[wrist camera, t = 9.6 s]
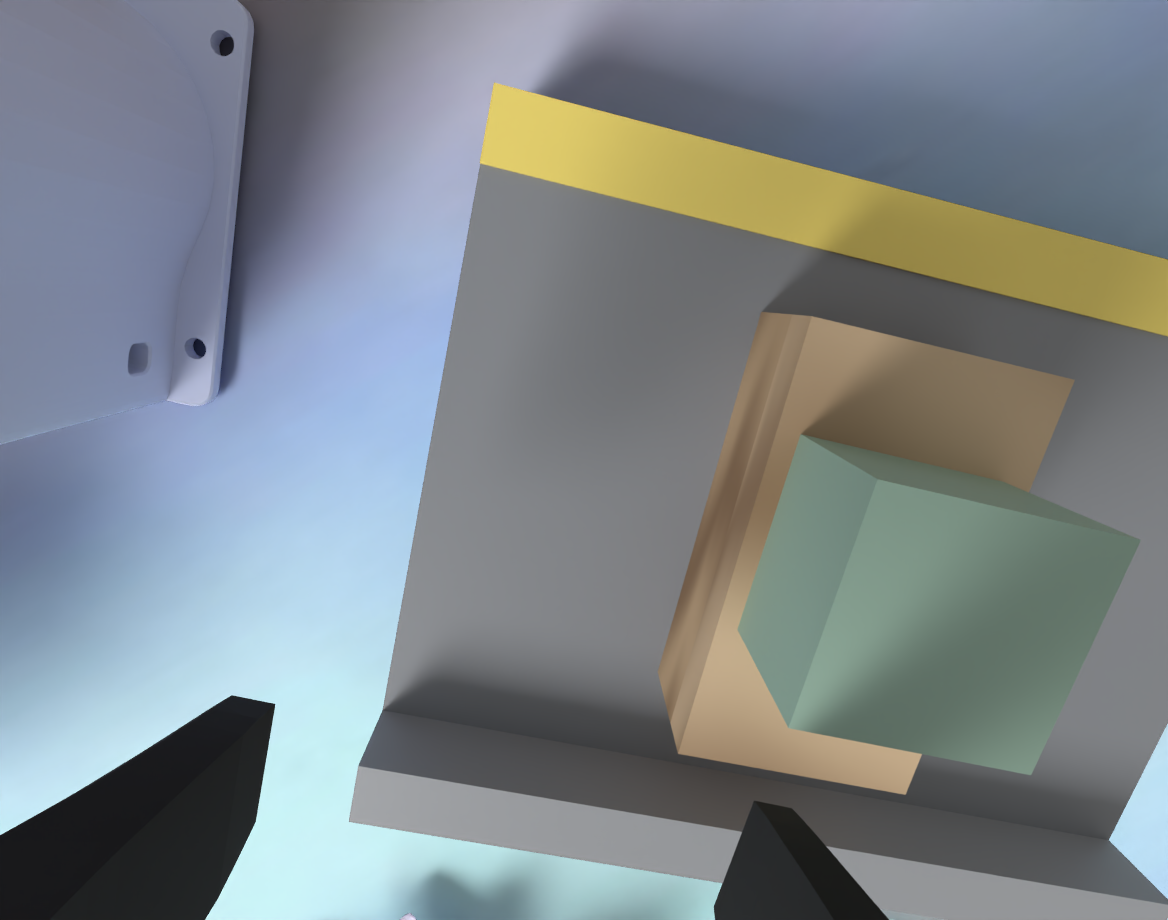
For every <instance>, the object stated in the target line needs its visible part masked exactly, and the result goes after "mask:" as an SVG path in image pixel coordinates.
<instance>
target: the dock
mask: <svg viewBox="0 0 1168 920" xmlns="http://www.w3.org/2000/svg"><path fill="white" fill-rule="evenodd" d="M761 312H769V313H781V314H792V315H804V316H813V317H817V318H822V319H826V320H830V321H834V322H838V323H842V324H846V325H851V326H855V327H859V328H863V329H867V330H871V331H875V332H879V333H884V334H888V335H892V336H896V337H900V338H904V339H908V340H912V341H917V342H921V343H925V344H929V345H933V346H937V347H941V348H945V349H950V350H954V351H958V352H962V353H966V354H970V355H974V356H978V357H983V358H987V359H991V360H995V361H999V362H1003V363H1007V364H1012V365H1016V366H1020V367H1024V368H1028V369H1032V370H1036V371H1040V372H1045V373H1049V374H1053V375H1057V376H1061V377H1065V378H1069V379H1073V380H1075V381H1074V383H1073V386H1072V388H1071V391H1070V393H1069V396H1068V398H1067V401H1066V403H1065V405H1064V408H1063V410H1062V413H1061V415H1060V418H1059V420H1058V423H1057V425H1056V427H1055V430H1054V432H1053V435H1052V437H1051V440H1050V442H1049V445H1048V447H1047V449H1046V452H1045V454H1044V457H1043V459H1042V462H1041V464H1040V467H1039V469H1038V472H1037V474H1036V476H1035V479H1034V481H1033V484H1032V486H1031V489H1030V491H1029V493H1031V494H1033V495H1036V496H1038V497H1041V498H1043V499H1045V500H1048V501H1050V502H1052V503H1055V504H1057V505H1059V506H1062V507H1064V508H1066V509H1069V510H1071V511H1073V512H1076V513H1078V514H1081V515H1083V516H1085V517H1088V518H1090V519H1092V520H1095V521H1097V522H1099V523H1102V524H1104V525H1106V526H1109V527H1111V528H1114V529H1116V530H1118V531H1121V532H1123V533H1125V534H1128V535H1130V536H1132V537H1135V538H1137V539H1139V540H1141V541H1140V544H1139V546H1138V548H1137V550H1136V552H1135V554H1134V556H1133V559H1132V561H1131V563H1130V565H1129V567H1128V569H1127V571H1126V573H1125V576H1124V578H1123V580H1122V582H1121V584H1120V586H1119V588H1118V591H1117V593H1116V595H1115V597H1114V599H1113V601H1112V603H1111V606H1110V608H1109V610H1108V612H1107V614H1106V616H1105V618H1104V620H1103V623H1102V625H1101V627H1100V629H1099V631H1098V633H1097V635H1096V638H1095V640H1094V642H1093V644H1092V646H1091V648H1090V650H1089V653H1088V655H1087V657H1086V659H1085V661H1084V663H1083V665H1082V667H1081V670H1080V672H1079V674H1078V676H1077V678H1076V680H1075V682H1074V685H1073V687H1072V689H1071V691H1070V693H1069V695H1068V697H1067V700H1066V702H1065V704H1064V706H1063V708H1062V710H1061V712H1060V714H1059V717H1058V719H1057V721H1056V723H1055V725H1054V727H1053V729H1052V732H1051V734H1050V736H1049V738H1048V740H1047V742H1046V744H1045V747H1044V749H1043V751H1042V753H1041V755H1040V757H1039V759H1038V761H1037V764H1036V766H1035V768H1034V770H1033V772H1032V774H1031V775H1027V774H1022V773H1017V772H1011V771H1006V770H1001V769H996V768H991V767H986V766H981V765H975V764H970V763H965V762H960V761H955V760H950V759H945V758H939V757H934V756H929V755H924V754H922V756H921V758H920V760H919V763H918V765H917V768H916V770H915V773H914V775H913V778H912V780H911V782H910V785H909V787H908V790H907V792H906V795H904V794H898V793H893V792H887V791H882V790H876V789H871V788H865V787H860V786H854V785H848V784H843V783H837V782H832V781H826V780H821V779H815V778H810V777H804V776H799V775H793V774H787V773H782V772H776V771H771V770H765V769H760V768H754V767H749V766H743V765H738V764H732V763H726V762H721V761H715V760H710V759H704V758H699V757H693V756H688V755H682V754H678V752H677V748H676V744H675V740H674V736H673V732H672V728H671V724H670V720H669V716H668V712H667V708H666V704H665V700H664V696H663V691H662V687H661V683H660V679H659V675H658V669H659V666H660V662H661V659H662V655H663V652H664V648H665V645H666V641H667V638H668V634H669V631H670V628H671V624H672V621H673V617H674V614H675V610H676V607H677V603H678V600H679V596H680V593H681V589H682V586H683V582H684V579H685V575H686V572H687V568H688V565H689V561H690V558H691V554H692V551H693V548H694V544H695V541H696V537H697V534H698V530H699V527H700V523H701V520H702V516H703V513H704V509H705V506H706V502H707V499H708V495H709V492H710V488H711V485H712V481H713V478H714V474H715V471H716V468H717V464H718V461H719V457H720V454H721V450H722V447H723V443H724V440H725V436H726V433H727V429H728V426H729V422H730V419H731V415H732V412H733V408H734V405H735V401H736V398H737V394H738V391H739V388H740V384H741V381H742V377H743V374H744V370H745V367H746V363H747V360H748V356H749V353H750V349H751V346H752V342H753V339H754V335H755V332H756V328H757V325H758V321H759V318H760V314H761ZM1167 723H1168V259H1164V258H1160V257H1156V256H1153V255H1149V254H1145V253H1141V252H1137V251H1134V250H1130V249H1126V248H1122V247H1118V246H1115V245H1111V244H1107V243H1103V242H1099V241H1095V240H1092V239H1088V238H1084V237H1080V236H1076V235H1073V234H1069V233H1065V232H1061V231H1057V230H1054V229H1050V228H1046V227H1042V226H1038V225H1034V224H1031V223H1027V222H1023V221H1019V220H1015V219H1012V218H1008V217H1004V216H1000V215H996V214H993V213H989V212H985V211H981V210H977V209H973V208H970V207H966V206H962V205H958V204H954V203H951V202H947V201H943V200H939V199H935V198H932V197H928V196H924V195H920V194H916V193H912V192H909V191H905V190H901V189H897V188H893V187H890V186H886V185H882V184H878V183H874V182H871V181H867V180H863V179H859V178H855V177H851V176H848V175H844V174H840V173H836V172H832V171H829V170H825V169H821V168H817V167H813V166H810V165H806V164H802V163H798V162H794V161H791V160H787V159H783V158H779V157H775V156H771V155H768V154H764V153H760V152H756V151H752V150H749V149H745V148H741V147H737V146H733V145H730V144H726V143H722V142H718V141H714V140H710V139H707V138H703V137H699V136H695V135H691V134H688V133H684V132H680V131H676V130H672V129H669V128H665V127H661V126H657V125H653V124H649V123H646V122H642V121H638V120H634V119H630V118H627V117H623V116H619V115H615V114H611V113H608V112H604V111H600V110H596V109H592V108H588V107H585V106H581V105H577V104H573V103H569V102H566V101H562V100H558V99H554V98H550V97H547V96H543V95H539V94H535V93H531V92H528V91H524V90H520V89H516V88H512V87H508V86H505V85H501V84H497V83H494V86H493V91H492V97H491V102H490V108H489V114H488V119H487V125H486V130H485V136H484V142H483V147H482V153H481V159H480V169H479V174H478V180H477V185H476V191H475V196H474V202H473V208H472V213H471V219H470V224H469V230H468V236H467V241H466V247H465V252H464V258H463V264H462V269H461V275H460V280H459V286H458V292H457V297H456V303H455V308H454V314H453V320H452V325H451V331H450V336H449V342H448V348H447V353H446V359H445V364H444V370H443V376H442V381H441V387H440V392H439V398H438V404H437V409H436V415H435V420H434V426H433V432H432V437H431V443H430V448H429V454H428V460H427V465H426V471H425V476H424V482H423V488H422V493H421V499H420V504H419V510H418V516H417V521H416V527H415V532H414V538H413V544H412V549H411V555H410V560H409V566H408V572H407V577H406V583H405V588H404V594H403V600H402V605H401V611H400V616H399V622H398V628H397V633H396V639H395V644H394V650H393V656H392V661H391V667H390V672H389V678H388V684H387V689H386V695H385V700H384V706H383V711H382V713H381V715H380V718H379V720H378V722H377V725H376V727H375V729H374V731H373V734H372V736H371V738H370V741H369V743H368V745H367V747H366V750H365V752H364V754H363V757H362V759H361V761H360V763H359V766H358V771H357V777H356V783H355V789H354V794H353V800H352V806H351V812H350V818H349V822H353V823H360V824H366V825H372V826H378V827H384V828H390V829H396V830H402V831H408V832H414V833H420V834H427V835H433V836H439V837H445V838H451V839H457V840H463V841H469V842H475V843H481V844H487V845H493V846H500V847H506V848H512V849H518V850H524V851H530V852H536V853H542V854H548V855H554V856H560V857H567V858H573V859H579V860H585V861H591V862H597V863H603V864H609V865H615V866H621V867H627V868H634V869H640V870H646V871H652V872H658V873H664V874H670V875H676V876H682V877H688V878H694V879H701V880H707V881H713V882H719V883H723V881H724V878H725V876H726V873H727V871H728V868H729V865H730V863H731V860H732V857H733V855H734V852H735V849H736V847H737V844H738V841H739V839H740V836H741V834H742V831H743V828H744V826H745V823H746V820H747V818H748V815H749V812H750V810H751V807H752V804H753V802H754V801H759V802H764V803H769V804H774V805H779V806H784V807H789V808H792V809H793V810H794V811H795V812H796V813H797V814H798V815H799V816H800V817H801V818H802V819H803V820H804V822H805V823H806V824H807V825H808V826H809V827H810V828H811V829H812V831H813V832H814V833H815V834H816V835H817V836H818V837H819V839H820V840H821V841H822V842H823V843H824V844H825V845H826V847H827V848H828V849H829V850H830V851H831V852H832V854H833V855H834V856H835V857H836V858H837V859H838V861H839V862H840V863H841V864H842V865H843V866H844V868H845V869H846V870H847V871H848V872H849V874H850V875H851V876H852V877H853V878H854V879H855V881H856V882H857V883H858V884H859V885H860V886H861V888H862V889H863V890H864V891H865V892H866V893H867V895H868V896H869V897H870V898H871V899H872V900H873V902H874V903H875V904H876V905H877V906H878V907H879V909H883V910H889V911H895V912H902V913H908V914H914V915H920V916H926V917H932V918H938V919H944V920H1167V918H1168V899H1167V898H1166V897H1165V896H1164V895H1163V894H1162V893H1161V892H1160V891H1159V890H1158V889H1157V888H1156V887H1155V886H1154V885H1153V884H1152V883H1151V882H1150V881H1149V880H1148V879H1147V878H1146V877H1145V876H1144V875H1143V874H1142V873H1141V872H1140V871H1139V870H1138V869H1137V868H1136V867H1135V866H1134V865H1133V864H1132V863H1131V862H1130V861H1129V860H1128V859H1127V858H1126V857H1125V856H1124V855H1123V854H1122V853H1121V852H1120V851H1119V850H1118V849H1117V848H1116V847H1115V846H1114V845H1113V844H1112V843H1111V842H1110V841H1109V838H1110V836H1111V834H1112V832H1113V830H1114V828H1115V826H1116V824H1117V822H1118V820H1119V819H1120V817H1121V815H1122V813H1123V811H1124V809H1125V807H1126V805H1127V803H1128V801H1129V799H1130V797H1131V795H1132V793H1133V791H1134V789H1135V787H1136V785H1137V783H1138V781H1139V779H1140V777H1141V775H1142V773H1143V771H1144V769H1145V767H1146V765H1147V763H1148V761H1149V759H1150V757H1151V755H1152V753H1153V751H1154V749H1155V747H1156V745H1157V743H1158V741H1159V739H1160V737H1161V735H1162V733H1163V731H1164V729H1165V727H1166V725H1167Z"/></svg>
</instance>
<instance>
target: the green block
mask: <svg viewBox="0 0 1168 920" xmlns="http://www.w3.org/2000/svg"><path fill="white" fill-rule="evenodd" d="M1140 541H1141V540H1139V539H1137V538H1135V537H1132V536H1130V535H1128V534H1125V533H1123V532H1121V531H1118V530H1116V529H1114V528H1111V527H1109V526H1106V525H1104V524H1102V523H1099V522H1097V521H1095V520H1092V519H1090V518H1088V517H1085V516H1083V515H1081V514H1078V513H1076V512H1073V511H1071V510H1069V509H1066V508H1064V507H1062V506H1059V505H1057V504H1055V503H1052V502H1050V501H1048V500H1045V499H1043V498H1041V497H1038V496H1036V495H1033V494H1031V493H1029V492H1026V491H1024V490H1022V489H1019V488H1017V487H1015V486H1012V485H1010V484H1008V483H1005V482H1002V481H998V480H994V479H990V478H985V477H981V476H977V475H973V474H968V473H964V472H960V471H956V470H951V469H947V468H943V467H939V466H934V465H930V464H926V463H921V462H917V461H913V460H909V459H904V458H900V457H896V456H892V455H887V454H883V453H879V452H875V451H870V450H866V449H862V448H858V447H853V446H849V445H845V444H841V443H836V442H832V441H828V440H824V439H819V438H815V437H811V436H807V435H802V434H800V438H799V441H798V444H797V447H796V450H795V453H794V456H793V459H792V462H791V465H790V468H789V472H788V475H787V478H786V481H785V484H784V487H783V490H782V493H781V496H780V499H779V502H778V505H777V509H776V512H775V515H774V518H773V521H772V524H771V527H770V530H769V533H768V536H767V539H766V543H765V546H764V549H763V552H762V555H761V558H760V561H759V564H758V567H757V570H756V573H755V577H754V580H753V583H752V586H751V589H750V592H749V595H748V598H747V601H746V604H745V607H744V610H743V614H742V617H741V620H740V623H739V626H738V629H737V630H738V632H739V634H740V636H741V638H742V640H743V642H744V643H745V645H746V647H747V649H748V651H749V653H750V655H751V657H752V659H753V661H754V663H755V665H756V667H757V669H758V670H759V672H760V674H761V676H762V678H763V680H764V682H765V684H766V686H767V688H768V690H769V692H770V694H771V696H772V697H773V699H774V701H775V703H776V705H777V707H778V709H779V711H780V713H781V715H782V717H783V719H784V721H785V723H786V724H787V726H788V728H790V729H795V730H800V731H806V732H811V733H816V734H821V735H826V736H831V737H836V738H842V739H847V740H852V741H857V742H862V743H867V744H872V745H878V746H883V747H888V748H893V749H898V750H903V751H908V752H914V753H919V754H924V755H929V756H934V757H939V758H945V759H950V760H955V761H960V762H965V763H970V764H975V765H981V766H986V767H991V768H996V769H1001V770H1006V771H1011V772H1017V773H1022V774H1027V775H1031V774H1032V772H1033V770H1034V768H1035V766H1036V764H1037V761H1038V759H1039V757H1040V755H1041V753H1042V751H1043V749H1044V747H1045V744H1046V742H1047V740H1048V738H1049V736H1050V734H1051V732H1052V729H1053V727H1054V725H1055V723H1056V721H1057V719H1058V717H1059V714H1060V712H1061V710H1062V708H1063V706H1064V704H1065V702H1066V700H1067V697H1068V695H1069V693H1070V691H1071V689H1072V687H1073V685H1074V682H1075V680H1076V678H1077V676H1078V674H1079V672H1080V670H1081V667H1082V665H1083V663H1084V661H1085V659H1086V657H1087V655H1088V653H1089V650H1090V648H1091V646H1092V644H1093V642H1094V640H1095V638H1096V635H1097V633H1098V631H1099V629H1100V627H1101V625H1102V623H1103V620H1104V618H1105V616H1106V614H1107V612H1108V610H1109V608H1110V606H1111V603H1112V601H1113V599H1114V597H1115V595H1116V593H1117V591H1118V588H1119V586H1120V584H1121V582H1122V580H1123V578H1124V576H1125V573H1126V571H1127V569H1128V567H1129V565H1130V563H1131V561H1132V559H1133V556H1134V554H1135V552H1136V550H1137V548H1138V546H1139V544H1140Z"/></svg>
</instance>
